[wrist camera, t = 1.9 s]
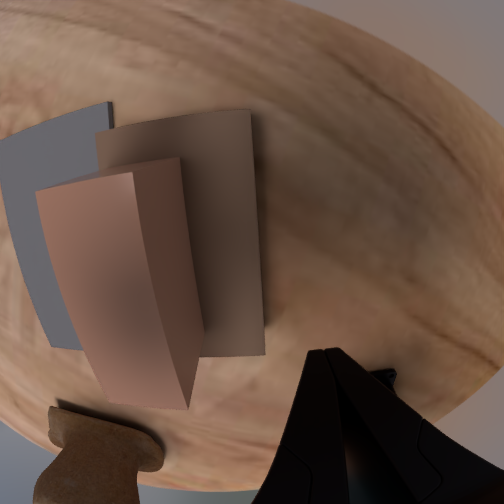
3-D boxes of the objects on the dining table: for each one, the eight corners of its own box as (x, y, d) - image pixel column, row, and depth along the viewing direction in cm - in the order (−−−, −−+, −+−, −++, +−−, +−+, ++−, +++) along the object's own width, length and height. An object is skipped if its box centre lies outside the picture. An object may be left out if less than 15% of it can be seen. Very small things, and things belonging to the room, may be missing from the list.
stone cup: (161, 415, 25) (128, 550, 11) (168, 465, 29) (150, 564, 15) (36, 377, 24) (-23, 475, 10) (64, 434, 29) (29, 517, 15)
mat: (111, 102, 15) (107, 101, 14) (157, 350, 22) (155, 355, 21) (0, 141, 15) (-5, 142, 15) (54, 342, 22) (51, 346, 21)
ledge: (250, 113, 16) (250, 108, 13) (264, 327, 21) (265, 355, 18) (118, 132, 16) (94, 133, 13) (155, 330, 21) (143, 355, 18)
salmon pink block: (179, 156, 14) (132, 171, 8) (204, 332, 17) (188, 410, 12) (106, 168, 14) (35, 191, 8) (142, 332, 17) (109, 402, 12)
